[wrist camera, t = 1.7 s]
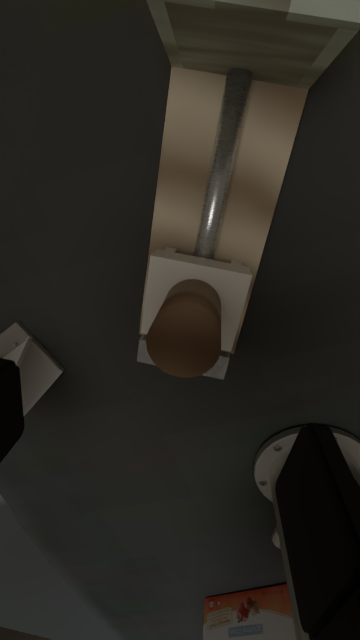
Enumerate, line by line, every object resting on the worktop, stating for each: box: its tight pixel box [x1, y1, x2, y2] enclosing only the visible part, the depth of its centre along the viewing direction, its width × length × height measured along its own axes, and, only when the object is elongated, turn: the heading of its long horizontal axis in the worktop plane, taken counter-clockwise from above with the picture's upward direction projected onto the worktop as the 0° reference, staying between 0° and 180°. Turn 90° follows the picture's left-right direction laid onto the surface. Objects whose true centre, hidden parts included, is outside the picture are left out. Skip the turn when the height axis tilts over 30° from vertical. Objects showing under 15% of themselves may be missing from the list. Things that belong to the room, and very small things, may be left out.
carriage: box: [141, 247, 252, 378], centre depth 20 cm, size 6×7×10 cm
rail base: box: [137, 0, 360, 380], centre depth 19 cm, size 26×9×10 cm, turn 170°
